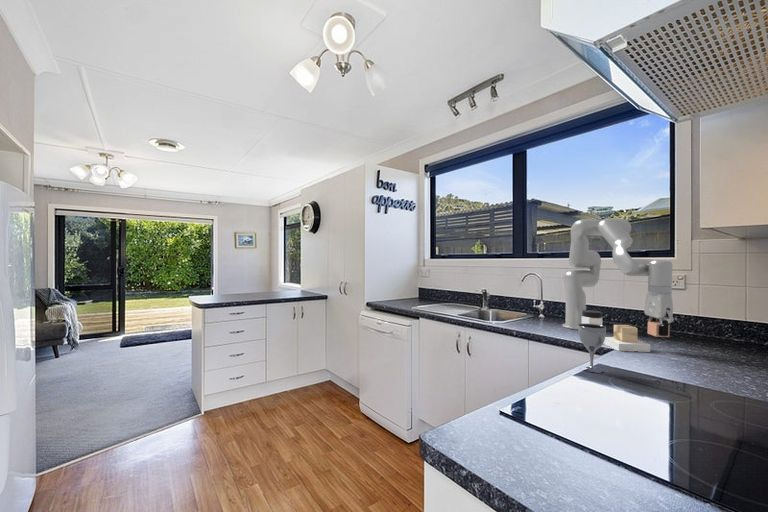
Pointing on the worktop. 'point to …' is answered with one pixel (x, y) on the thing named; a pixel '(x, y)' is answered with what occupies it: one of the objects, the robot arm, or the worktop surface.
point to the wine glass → (592, 338)
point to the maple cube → (625, 333)
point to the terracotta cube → (655, 329)
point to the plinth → (627, 345)
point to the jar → (591, 317)
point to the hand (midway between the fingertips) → (658, 333)
